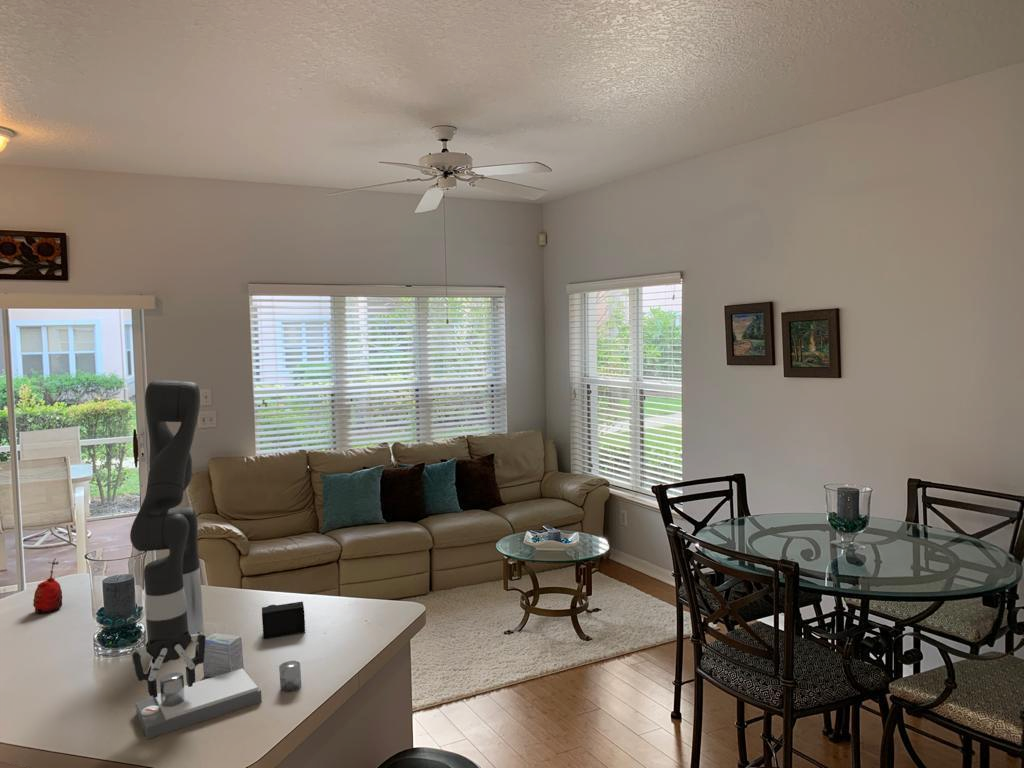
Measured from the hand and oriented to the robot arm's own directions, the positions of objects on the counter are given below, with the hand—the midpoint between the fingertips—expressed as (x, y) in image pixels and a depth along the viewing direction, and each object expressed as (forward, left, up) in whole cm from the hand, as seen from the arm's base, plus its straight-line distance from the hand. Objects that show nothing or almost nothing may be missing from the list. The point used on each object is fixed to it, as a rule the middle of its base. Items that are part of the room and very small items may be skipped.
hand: (172, 690), depth 148 cm
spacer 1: (0, 0, -2) cm, 2 cm away
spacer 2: (+4, +23, -5) cm, 24 cm away
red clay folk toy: (-87, -16, -6) cm, 89 cm away
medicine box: (-12, +13, -6) cm, 19 cm away
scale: (0, +5, -5) cm, 7 cm away
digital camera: (-26, +32, -6) cm, 42 cm away
